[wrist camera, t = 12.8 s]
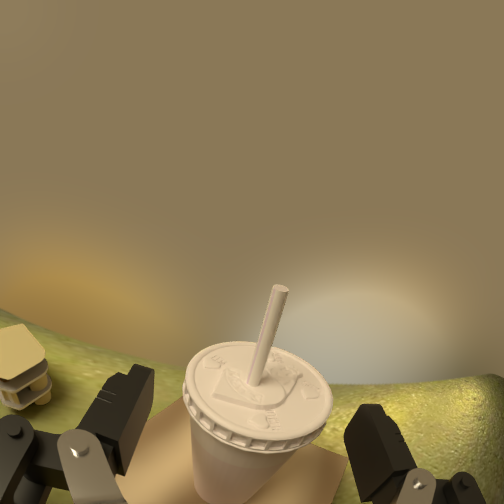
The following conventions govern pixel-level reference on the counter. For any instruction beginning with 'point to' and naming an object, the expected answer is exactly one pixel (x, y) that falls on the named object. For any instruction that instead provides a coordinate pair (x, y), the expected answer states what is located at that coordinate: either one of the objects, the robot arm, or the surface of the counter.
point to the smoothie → (250, 410)
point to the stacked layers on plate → (22, 369)
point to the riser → (182, 479)
